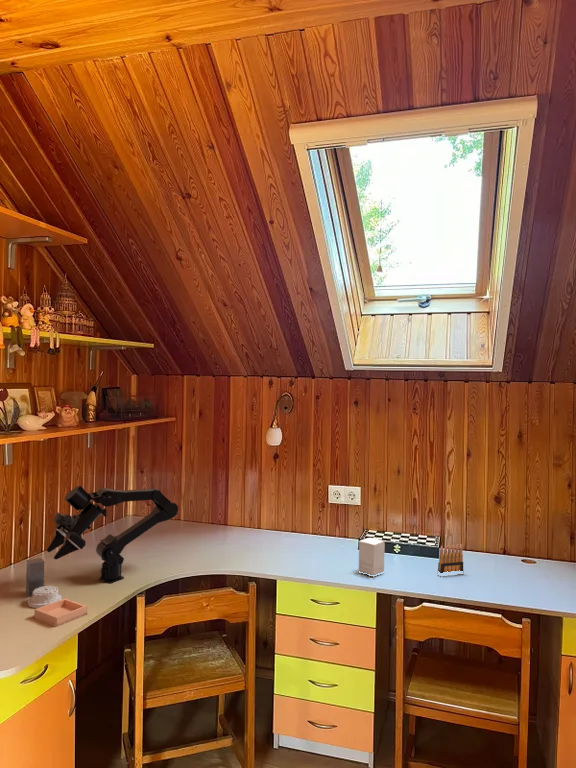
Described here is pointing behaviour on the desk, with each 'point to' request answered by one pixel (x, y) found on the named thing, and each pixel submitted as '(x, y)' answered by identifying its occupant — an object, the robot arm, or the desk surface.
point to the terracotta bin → (60, 612)
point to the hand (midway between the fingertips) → (51, 555)
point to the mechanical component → (44, 596)
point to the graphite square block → (34, 575)
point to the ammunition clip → (450, 559)
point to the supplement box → (371, 556)
